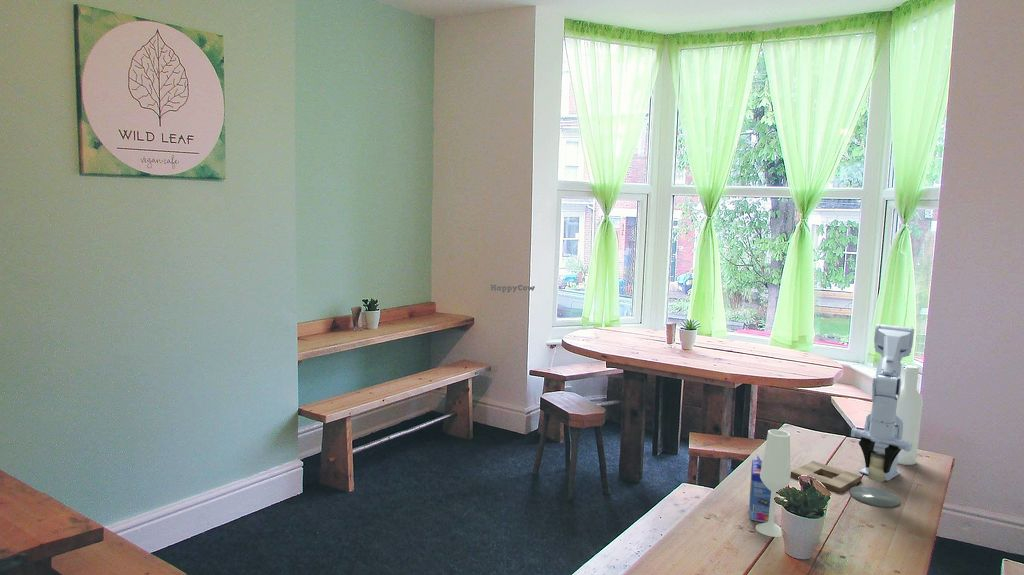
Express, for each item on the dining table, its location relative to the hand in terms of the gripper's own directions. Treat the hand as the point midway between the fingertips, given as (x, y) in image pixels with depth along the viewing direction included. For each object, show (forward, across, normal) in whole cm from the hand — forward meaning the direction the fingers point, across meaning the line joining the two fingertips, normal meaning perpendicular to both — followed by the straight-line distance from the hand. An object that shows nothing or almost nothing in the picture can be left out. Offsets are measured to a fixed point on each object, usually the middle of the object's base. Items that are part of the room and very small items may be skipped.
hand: (877, 469), depth 181 cm
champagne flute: (+8, -8, -41) cm, 43 cm away
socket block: (+8, -14, +2) cm, 16 cm away
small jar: (+3, 0, 0) cm, 3 cm away
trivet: (+8, 0, 0) cm, 8 cm away
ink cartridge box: (+8, -14, -35) cm, 38 cm away
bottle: (+8, -6, +37) cm, 38 cm away
